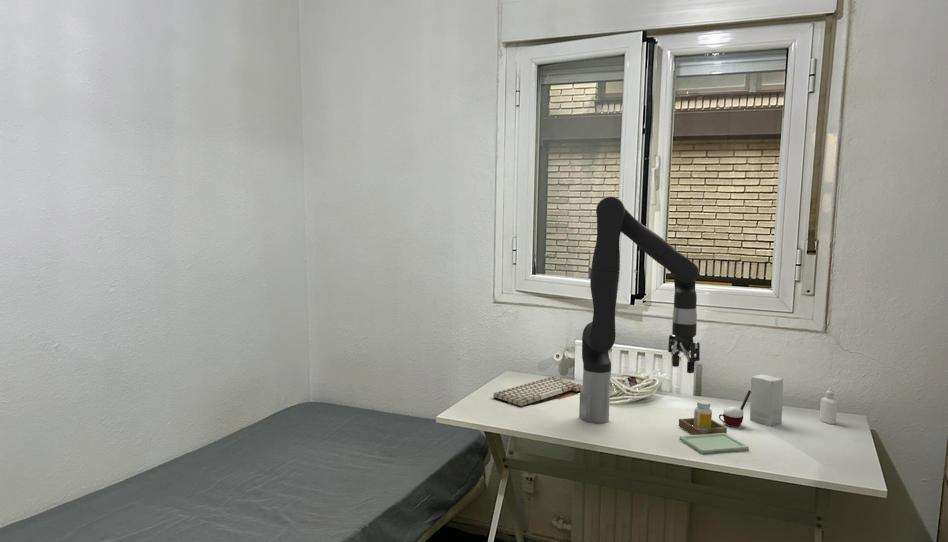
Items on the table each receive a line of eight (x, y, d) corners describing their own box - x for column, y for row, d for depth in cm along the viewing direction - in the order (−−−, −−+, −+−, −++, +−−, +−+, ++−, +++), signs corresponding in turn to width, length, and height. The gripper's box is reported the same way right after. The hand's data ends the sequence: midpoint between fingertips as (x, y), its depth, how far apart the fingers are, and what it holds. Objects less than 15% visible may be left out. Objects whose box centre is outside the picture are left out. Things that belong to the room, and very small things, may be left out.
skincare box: (781, 424, 218) (785, 379, 216) (769, 427, 215) (773, 381, 213) (759, 416, 225) (762, 373, 224) (747, 419, 222) (750, 375, 220)
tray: (701, 454, 189) (702, 450, 189) (679, 439, 201) (679, 436, 201) (748, 450, 193) (749, 446, 193) (724, 436, 205) (724, 432, 204)
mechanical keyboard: (527, 412, 227) (527, 402, 226) (488, 400, 240) (488, 391, 240) (589, 392, 253) (589, 383, 253) (551, 382, 267) (551, 374, 266)
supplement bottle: (690, 430, 210) (691, 401, 209) (699, 426, 213) (700, 398, 212) (705, 434, 206) (706, 405, 205) (713, 431, 209) (715, 402, 208)
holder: (697, 437, 203) (697, 429, 203) (678, 426, 213) (678, 418, 213) (726, 435, 206) (726, 427, 205) (706, 424, 216) (707, 417, 216)
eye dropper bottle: (832, 419, 223) (835, 386, 222) (836, 425, 218) (839, 390, 217) (818, 418, 225) (821, 385, 223) (822, 423, 219) (825, 389, 218)
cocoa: (718, 426, 215) (718, 391, 214) (721, 420, 221) (721, 386, 219) (748, 430, 211) (748, 395, 209) (751, 424, 216) (751, 389, 215)
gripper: (662, 318, 216) (661, 365, 218) (687, 325, 203) (685, 375, 204) (682, 317, 218) (680, 364, 220) (707, 324, 205) (705, 374, 206)
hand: (682, 369), depth 212 cm, fingers open, 8 cm apart
